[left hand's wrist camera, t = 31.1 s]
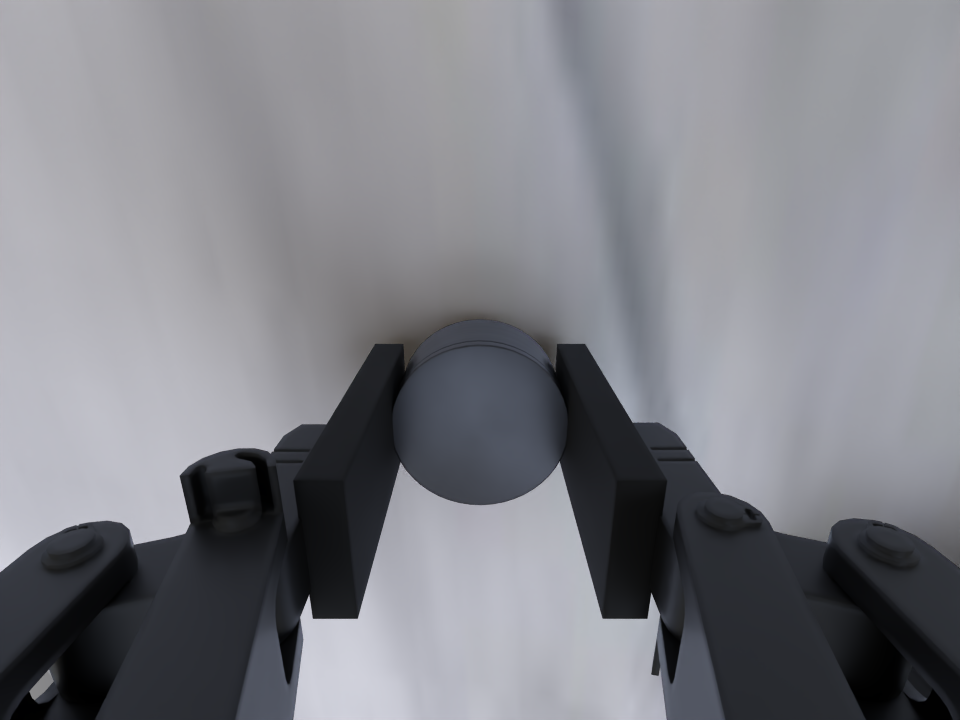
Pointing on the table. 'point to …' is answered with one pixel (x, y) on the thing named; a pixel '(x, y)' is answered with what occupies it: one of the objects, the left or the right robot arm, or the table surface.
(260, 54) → the table surface
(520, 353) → the cap
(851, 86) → the table surface
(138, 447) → the table surface
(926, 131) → the table surface
